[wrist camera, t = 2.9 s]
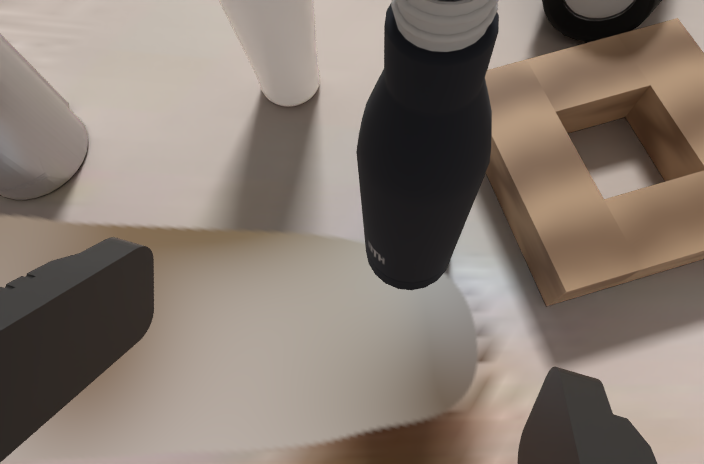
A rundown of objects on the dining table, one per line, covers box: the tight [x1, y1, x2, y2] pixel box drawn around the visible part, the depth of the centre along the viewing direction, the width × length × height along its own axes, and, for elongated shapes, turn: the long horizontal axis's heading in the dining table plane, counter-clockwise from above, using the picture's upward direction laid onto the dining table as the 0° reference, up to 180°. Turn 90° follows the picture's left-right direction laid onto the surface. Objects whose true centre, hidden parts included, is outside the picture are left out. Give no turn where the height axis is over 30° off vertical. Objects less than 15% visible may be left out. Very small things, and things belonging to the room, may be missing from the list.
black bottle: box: [357, 0, 499, 290], centre depth 22 cm, size 6×6×30 cm
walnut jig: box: [485, 18, 704, 306], centre depth 36 cm, size 18×18×4 cm
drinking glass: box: [219, 0, 320, 106], centre depth 36 cm, size 7×7×15 cm
